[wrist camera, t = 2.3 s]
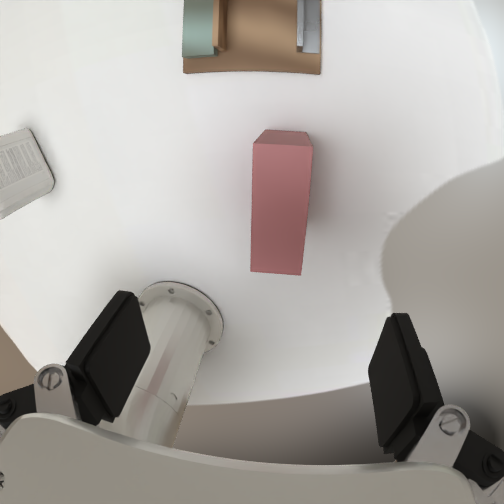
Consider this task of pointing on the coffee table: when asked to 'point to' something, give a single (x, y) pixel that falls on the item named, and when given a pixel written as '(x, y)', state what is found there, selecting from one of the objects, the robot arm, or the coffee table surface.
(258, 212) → the book
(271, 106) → the coffee table surface
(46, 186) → the photo printer
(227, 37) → the shelf
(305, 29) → the bookend
